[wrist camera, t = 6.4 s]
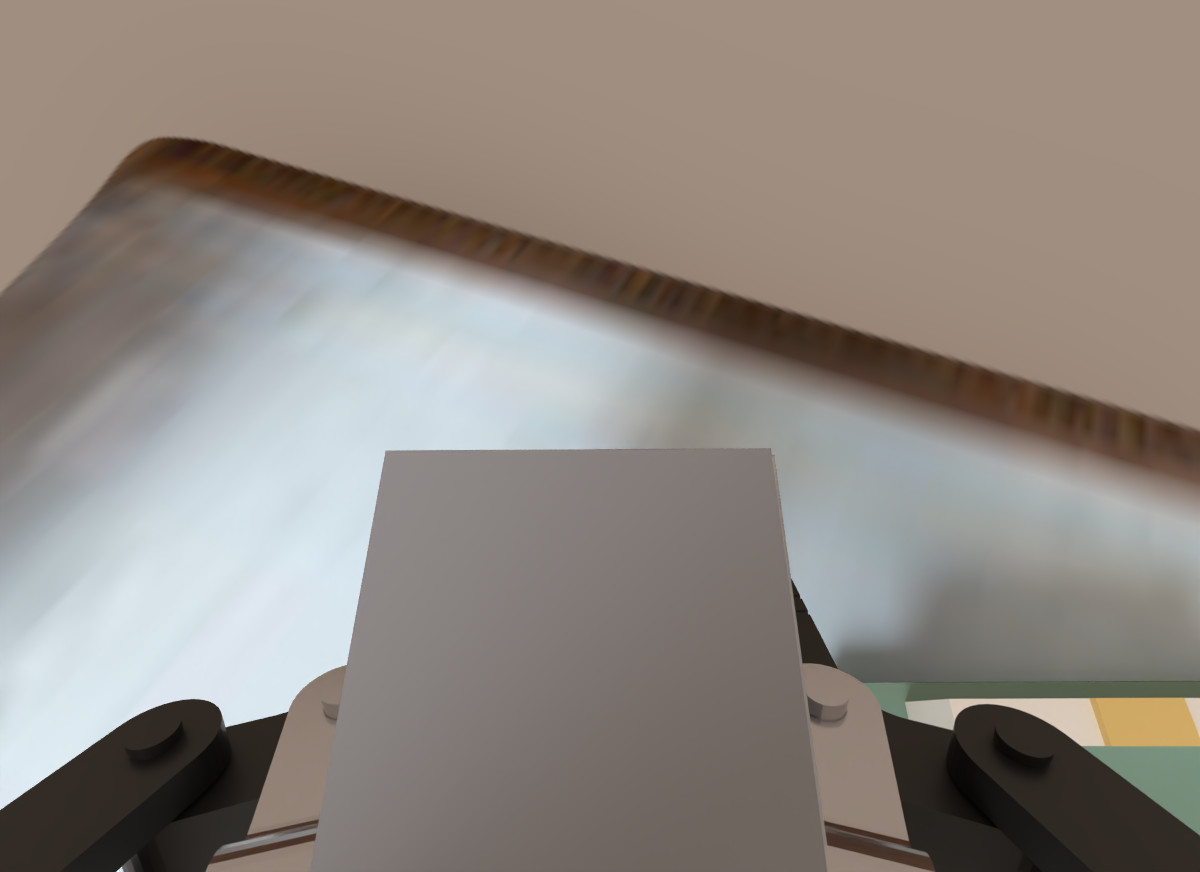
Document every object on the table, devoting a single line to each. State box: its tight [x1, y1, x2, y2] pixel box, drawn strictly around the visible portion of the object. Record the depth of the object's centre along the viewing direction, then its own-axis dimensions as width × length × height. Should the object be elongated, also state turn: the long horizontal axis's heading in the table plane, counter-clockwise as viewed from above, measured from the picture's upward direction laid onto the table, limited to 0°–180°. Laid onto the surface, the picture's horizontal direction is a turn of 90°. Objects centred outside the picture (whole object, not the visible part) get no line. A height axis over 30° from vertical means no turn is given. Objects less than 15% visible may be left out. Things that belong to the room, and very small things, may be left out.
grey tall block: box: [310, 448, 827, 872], centre depth 10 cm, size 4×5×11 cm
